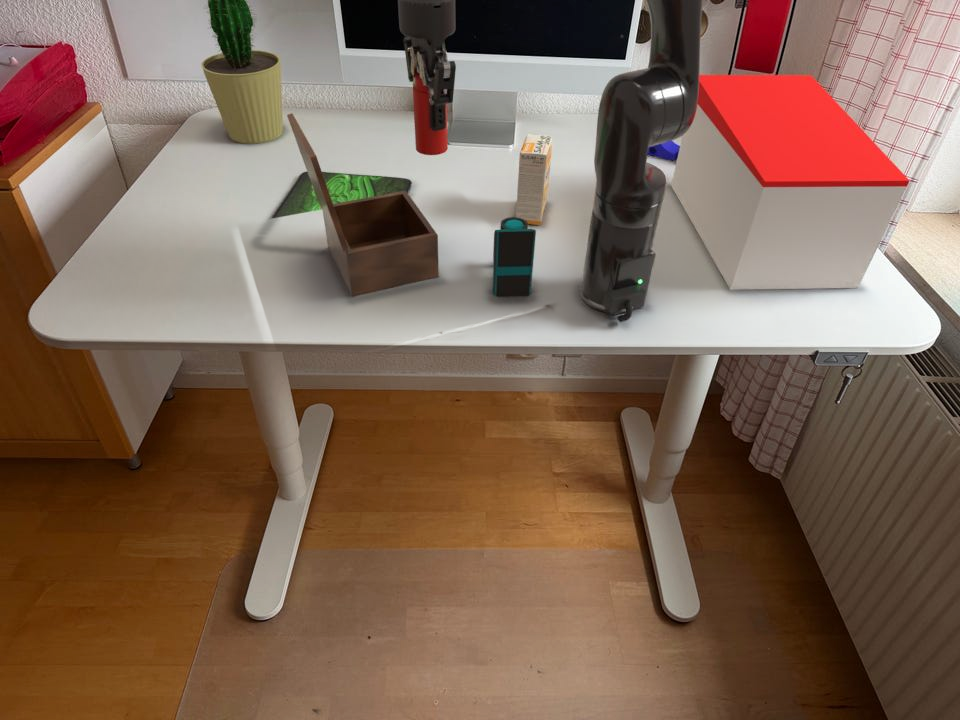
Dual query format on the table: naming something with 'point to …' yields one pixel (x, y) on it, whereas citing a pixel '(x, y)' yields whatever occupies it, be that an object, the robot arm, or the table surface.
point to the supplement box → (533, 177)
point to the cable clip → (665, 150)
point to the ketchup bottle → (426, 122)
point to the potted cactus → (243, 76)
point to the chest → (383, 243)
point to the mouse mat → (338, 191)
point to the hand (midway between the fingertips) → (431, 122)
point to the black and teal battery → (513, 258)
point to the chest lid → (317, 181)
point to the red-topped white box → (783, 184)
